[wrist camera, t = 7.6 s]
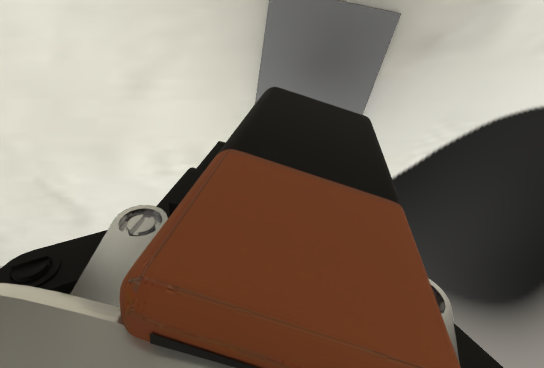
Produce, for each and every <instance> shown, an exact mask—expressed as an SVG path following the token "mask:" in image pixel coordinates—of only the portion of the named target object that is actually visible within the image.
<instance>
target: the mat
mask: <svg viewBox="0 0 544 368" xmlns="http://www.w3.org/2000/svg"><path fill="white" fill-rule="evenodd" d="M400 15H401V13H396V12H392V11H387V10H382V9H377V8H372V7H368V6H363V5H358V4H353V3H349V2H344V1H339V0H269V6H268V13H267V21H266V28H265V35H264V43H263V50H262V57H261V65H260V72H259V79H258V87H257V94H256V102H257V101H258V100H259V98H260V97H261V96H262V95H263V93H264V92H265V91H266V90H267V89H269V88H271V87H279V88H282V89H285V90H288V91H291V92H294V93H297V94H300V95H304V96H307V97H310V98H313V99H316V100H319V101H322V102H325V103H328V104H331V105H334V106H337V107H340V108H343V109H346V110H349V111H352V112H355V113H358V114H361V115H362V114H363V111H364V109H365V106H366V103H367V101H368V98H369V96H370V93H371V90H372V88H373V85H374V83H375V80H376V77H377V75H378V72H379V70H380V67H381V64H382V62H383V59H384V57H385V54H386V51H387V49H388V46H389V44H390V41H391V38H392V36H393V33H394V30H395V28H396V25H397V23H398V20H399V17H400ZM256 102H255V104H256Z"/></svg>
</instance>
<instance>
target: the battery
mask: <svg viewBox="0 0 544 368" xmlns="http://www.w3.org/2000/svg"><path fill="white" fill-rule="evenodd" d="M119 299H120V311H121V318H122V322H123V324H124V326H125V328H126V330H127V331H128V332H129V333H130V334H131V335H133V336H135V337H137V338H139V339H142V340H145V341H148V342H150V344H154V345H157V346H161V347H164V348H168V349H172V350H175V351H179V352H182V353H186V354H189V355H193V356H196V357H200V358H203V359H207V360H211V361H214V362H218V363H221V364H225V365H228V366H232V367H235V368H461V367H460V364H459V362H458V359H457V356H456V353H455V350H454V348H453V345H452V342H451V339H450V337H449V334H448V331H447V328H446V326H445V323H444V320H443V318H442V315H441V312H440V309H439V307H438V304H437V301H436V298H435V296H434V293H433V290H432V287H431V285H430V282H429V279H428V276H427V274H426V271H425V268H424V266H423V263H422V260H421V257H420V255H419V252H418V249H417V246H416V244H415V241H414V238H413V236H412V233H411V230H410V227H409V225H408V222H407V219H406V216H405V214H404V211H403V208H402V205H401V203H400V200H399V197H398V194H397V192H396V189H395V186H394V183H393V181H392V178H391V175H390V172H389V170H388V167H387V164H386V162H385V159H384V156H383V153H382V151H381V148H380V145H379V142H378V140H377V137H376V134H375V131H374V129H373V126H372V123H371V121H370V119H369V118H368V117H366V116H364V115H361V114H358V113H355V112H352V111H349V110H346V109H343V108H340V107H337V106H334V105H331V104H328V103H325V102H322V101H319V100H316V99H313V98H310V97H307V96H304V95H300V94H297V93H294V92H291V91H288V90H285V89H282V88H279V87H271V88H269V89H267V90H266V91H265V92H264V93H263V95H262V96H261V97H260V98H259V100H258V101H257V102H256V104H255V105H254V106H253V108H252V109H251V110H250V112H249V113H248V114H247V116H246V117H245V118H244V120H243V121H242V122H241V123H240V125H239V126H238V127H237V129H236V130H235V131H234V133H233V134H232V135H231V137H230V138H229V139H228V141H227V142H226V143H225V145H224V146H223V147H222V148H221V150H220V151H219V152H218V154H217V155H216V156H215V158H214V159H213V160H212V162H211V163H210V164H209V166H208V167H207V168H206V170H205V171H204V172H203V173H202V175H201V176H200V177H199V179H198V180H197V181H196V183H195V184H194V185H193V187H192V188H191V189H190V191H189V192H188V193H187V195H186V196H185V197H184V198H183V200H182V201H181V202H180V204H179V205H178V206H177V208H176V209H175V210H174V212H173V213H172V214H171V216H170V217H169V218H168V220H167V221H166V222H165V223H164V225H163V226H162V227H161V229H160V230H159V231H158V233H157V234H156V235H155V237H154V238H153V239H152V241H151V242H150V243H149V245H148V246H147V247H146V248H145V250H144V251H143V252H142V254H141V255H140V256H139V258H138V259H137V260H136V262H135V263H134V265H133V266H132V267H131V269H130V270H129V271H128V273H127V275H126V276H125V278H124V280H123V282H122V284H121V288H120V296H119Z"/></svg>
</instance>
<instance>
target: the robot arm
mask: <svg viewBox="0 0 544 368" xmlns="http://www.w3.org/2000/svg"><path fill="white" fill-rule="evenodd" d="M224 145H225V142H221V141H219V142H218V143H217V144H216V145H215V147H214V148H213V149H212V150H211V151H210V153H209V154H208V155H207V156H206V158H205V159H204V160H203V161H202V162H201V164H200V165H199V166H198V167H197V169H196V168H190V169H188V170H187V172H186V173H185V174H184V175H183V176H182V177H181V179H180V180H179V181H178V182H177V183H176V184H175V185H174V187H173V188H172V189H171V190H170V191H169V192H168V194H167V195H166V196H165V197H164V198H163V199H162V200H161V202H160V203H159V204H158V205H157V206H151V205H139V206H134V207H131V208H128V209H126V210H124V211H123V212H121V213H120V214H118V215H117V217H116V218H115V219H114V220H113V222H112V224H111V225H110V227H109V229H108V230H106V231H102V232H98V233H95V234H91V235H88V236H84V237H80V238H77V239H73V240H69V241H66V242H62V243H58V244H55V245H51V246H47V247H44V248H40V249H36V250H33V251H30V252H27V253H24V254H22V255H20V256H18V257H16V258H14V259H13V260H11V261H10V262H8V263H7V264H6V265H5V266H3V267H2V268H0V368H235V367H232V366H228V365H225V364H221V363H218V362H214V361H211V360H207V359H203V358H200V357H196V356H193V355H189V354H186V353H182V352H179V351H175V350H172V349H168V348H164V347H161V346H157V345H154V344H150V342H148V341H145V340H142V339H139V338H137V337H135V336H133V335H131V334H130V333H129V332H128V331H127V330H126V328H125V326H124V324H123V322H122V318H121V311H120V299H119V296H120V288H121V284H122V282H123V280H124V278H125V276H126V275H127V273H128V271H129V270H130V269H131V267H132V266H133V265H134V263H135V262H136V260H137V259H138V258H139V256H140V255H141V254H142V252H143V251H144V250H145V248H146V247H147V246H148V245H149V243H150V242H151V241H152V239H153V238H154V237H155V235H156V234H157V233H158V231H159V230H160V229H161V227H162V226H163V225H164V223H165V222H166V221H167V220H168V218H169V217H170V216H171V214H172V213H173V212H174V210H175V209H176V208H177V206H178V205H179V204H180V202H181V201H182V200H183V198H184V197H185V196H186V195H187V193H188V192H189V191H190V189H191V188H192V187H193V185H194V184H195V183H196V181H197V180H198V179H199V177H200V176H201V175H202V173H203V172H204V171H205V170H206V168H207V167H208V166H209V164H210V163H211V162H212V160H213V159H214V158H215V156H216V155H217V154H218V152H219V151H220V150H221V148H222V147H223V146H224ZM429 282H430V285H431V287H432V290H433V293H434V296H435V298H436V301H437V304H438V307H439V309H440V312H441V315H442V318H443V320H444V323H445V326H446V328H447V331H448V334H449V337H450V339H451V342H452V345H453V348H454V350H455V353H456V356H457V359H458V362H459V364H460V367H461V368H503V367H502V366H501V365H500V364H499V363H498V362H496V361H495V360H494V359H493V358H492V357H491V356H490V355H489V354H487V352H485V351H484V350H483V349H482V348H481V347H480V346H479V345H478V344H477V343H475V342H474V341H473V340H472V339H471V338H470V337H469V336H468V335H466V334H465V333H464V332H463V331H462V330H461V329H460V328H459V327H458V326H456V325H455V324H454V321H453V314H452V308H451V304H450V301H449V300H448V298H447V296H446V295H445V293H444V292H443V291H442V290H441V289H440V288H439V286H438V285H436V284H435V283H434V282H432V281H431V280H430V279H429Z"/></svg>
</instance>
